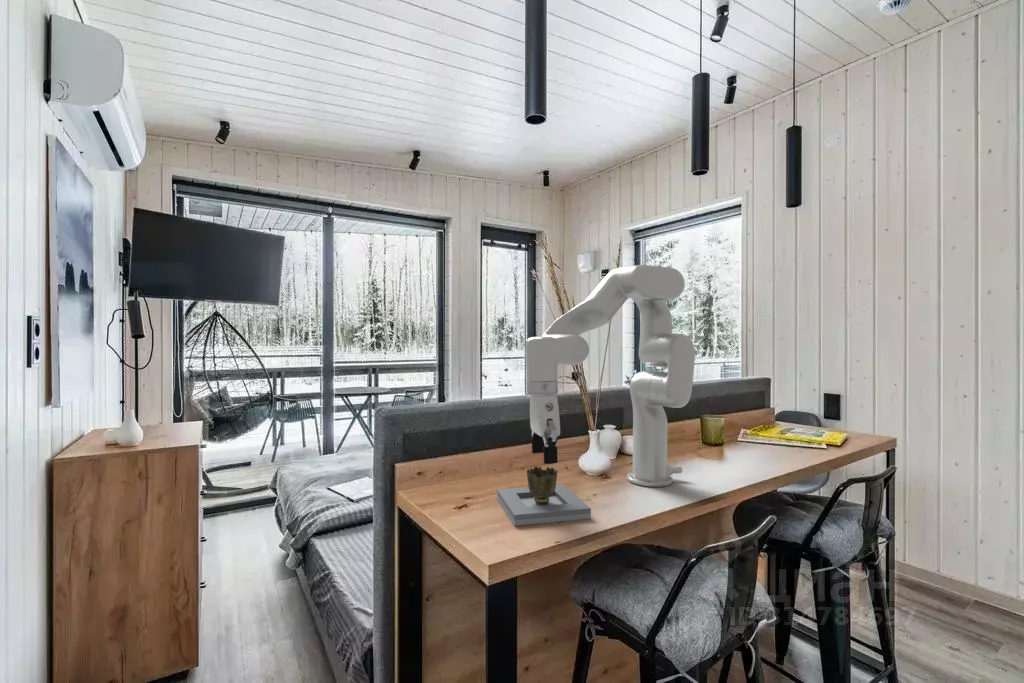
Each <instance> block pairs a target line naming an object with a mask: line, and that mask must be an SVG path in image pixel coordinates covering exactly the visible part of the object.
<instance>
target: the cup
mask: <svg viewBox="0 0 1024 683" xmlns="http://www.w3.org/2000/svg"><path fill="white" fill-rule="evenodd" d="M526 477H527V484H528V486H527V487H529V491H530V493H531V494H532V495H533V496H534V497H535V499H534V500H535V502H536V503H537V504H540V505H545V504H548V503H549V500H550V499H549V497H550V496H552V495H553V493H554V491H555V487H556V485H557V479H558V470H557V469H555V468H554V467H551V468H550V467H548V466H547V467H546V469H542V466H539V467H538V466H536V465H535V467H534V468H533V467H530V469H529V468H527V470H526Z"/></svg>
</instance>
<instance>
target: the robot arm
mask: <svg viewBox="0 0 1024 683" xmlns="http://www.w3.org/2000/svg"><path fill="white" fill-rule="evenodd" d="M684 290H685V278H684V276H683V274H682V272H680V271H679V270H678V269H677V268H674V267H666V266H658V265H657V266H656V265H649V264H648V265H647V264H635V265H629V266H627V265H626V266H620V267H617V268H613V269H612V270H610V271H609V272H608V273H607V274H606V275H605V276H604V277H603V278H602V279H601V281H600V282H599V283H598V284H597V285H596V287H595V288H593V290H592V291H591V292H590V294H589V295H588V296H587V297H586V299H585V300H584V301H582V302H580V303H579V304H577V305H575V306H574V307H572V308H570V310H568V311H567V312H565V313H564V314H562V315H561V316H560V317H557V319H556V320H554V321H553V322H552V324H551V325H549V327H548V328H547V329H546V330H545V331H544V333H543V334H542V335H541V336H531V337H528V338H527V339H526V341H525V357H526V359H525V364H526V366H525V368H526V393H527V395H528V396H530V397H529V426H530V429H531V453H532V454H541V453H542V454H543V463H544V465H550V464H552V465H553V464H557V463H558V437H559V436H560V435H561V421H560V420H561V418H560V408H559V407H560V406H559V400H558V394H559V374H558V373H559V368H558V366H559V365H567V366H576V365H579V364H581V363H583V362H585V361H586V359H587V358H588V356H589V354H590V346H589V344H588V342H587V340H586V339H585V338H584V337H582V336H580V335H582V334H584V333H586V332H589V331H593V330H596V329H599V328H600V327H603V326H605V325H607V324H608V323H610V321H611V320H612V319H613V318H614V317H615V315H616V314H617V313H618V312H619V311H620V309H621V308H622V306H623V305H624V304H625V303H626V302H627V300H629V299H632V301H633V302H634V303H635V305H636V306H637V308H638V309H639V313H640V318H641V320H640V334H639V342H638V343H639V344H638V357H639V358H638V359H639V361H640V362H641V363H642V364H644V365H647V366H650V367H659V368H660V367H661V368H667V371H660V370H659V371H658V370H641V371H637V372H636V373H634V375H632V377H631V380H630V382H629V393H630V398H631V399H630V400H631V406H632V471H630V472H627V475H626V479H627V480H628V481H629V482H631V483H633V484H635V485H638V486H639V485H640V486H643V487H644V486H645V487H650V488H651V487H656V488H657V487H659V488H660V487H667V486H670V485H672V483H673V477H672V475H673V474H682V473H683V467H682V466H681V465H679V466H673V464H672V465H671V464H670V465H669V464H668V418H667V414H666V411H665V409H664V407H667V408H673V409H675V408H676V409H678V408H680V409H681V408H684V407H685V406H686V405H687V404H688V403H689V401H690V399H691V396H692V392H693V391H692V390H693V383H694V382H693V381H694V374H695V373H694V372H695V361H696V350H695V345H694V343H693V341H692V339H691V338H690V337H689V336H688V335H686V334H684V333H678V332H677V333H672V327H673V324H672V322H673V317H672V316H673V315H672V313H671V310H670V308H669V306H668V305H667V303H666V302H665V301H671V300H676V299H677V298H679V297H680V296H681V295H682V293H683V291H684Z"/></svg>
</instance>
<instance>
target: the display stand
mask: <svg viewBox="0 0 1024 683" xmlns="http://www.w3.org/2000/svg"><path fill="white" fill-rule="evenodd" d="M496 499H497V501H498V503H499V504H500V506H501V507H502V509H503V510H504V512H505V513H506V515H507V516H508V518H509V520H510V521H511V523H512V525H513V526H514V527H516V526H517V527H518V526H527V525H538V524H549V523H550V524H551V523H559V522H560V523H561V522H570V521H579V520H591V518H592V517H591V516H592V514H591V513H592V512H591V511H592V507H590V506H589V505H588V504H586V502H585V501H583V500H582V499H581V498H580V497H579V496H578V495H577V494H575V493H574V492H573V491H572V490H571V489H569V488H568V487H567V486H566V485H565V484H556V487H555V491H554V493H553V495H552V496H550V497H549V499H550V500H549V503H548V504H545V505H540V504H537V503H536V502H535V500H534V499H535V497H534V496H533V495H532V494H531V493H530V491H529V486H527V487H526V486H524V487H513V488H498V489H496Z"/></svg>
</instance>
